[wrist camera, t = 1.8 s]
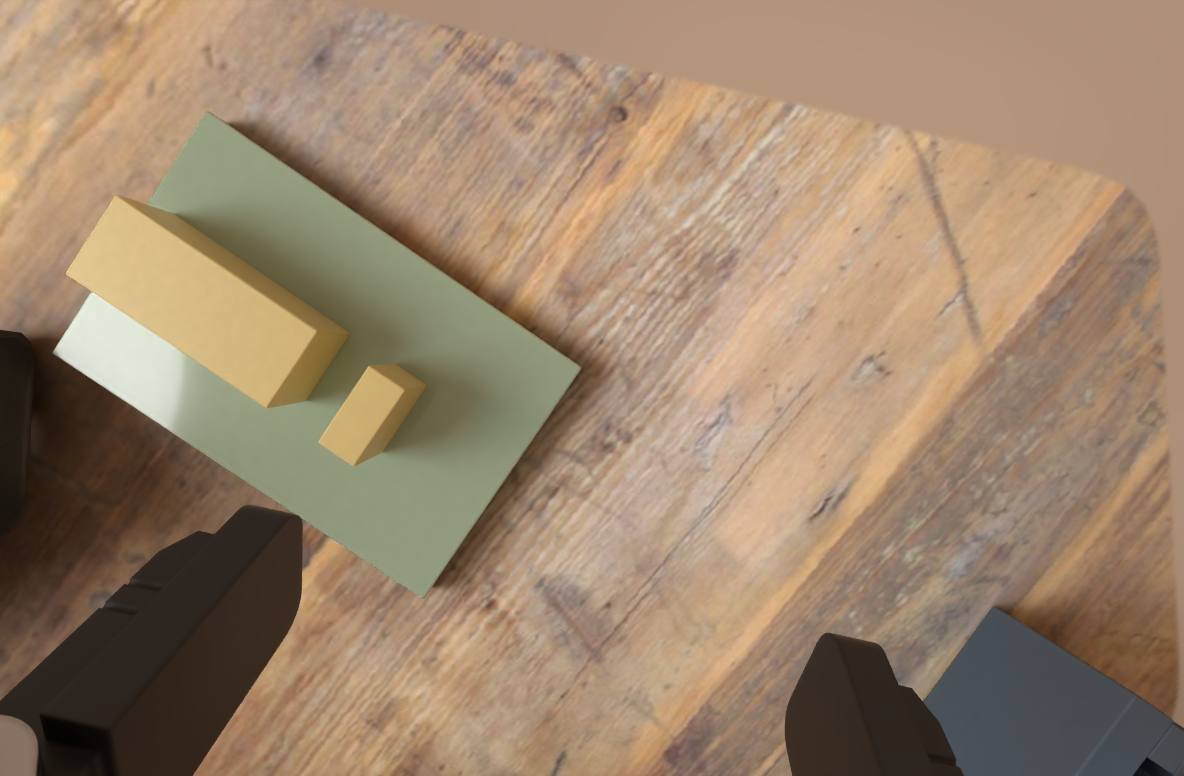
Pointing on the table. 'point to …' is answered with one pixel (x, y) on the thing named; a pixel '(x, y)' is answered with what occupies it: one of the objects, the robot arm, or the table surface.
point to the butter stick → (207, 303)
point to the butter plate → (338, 365)
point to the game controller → (15, 426)
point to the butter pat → (372, 413)
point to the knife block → (1045, 711)
